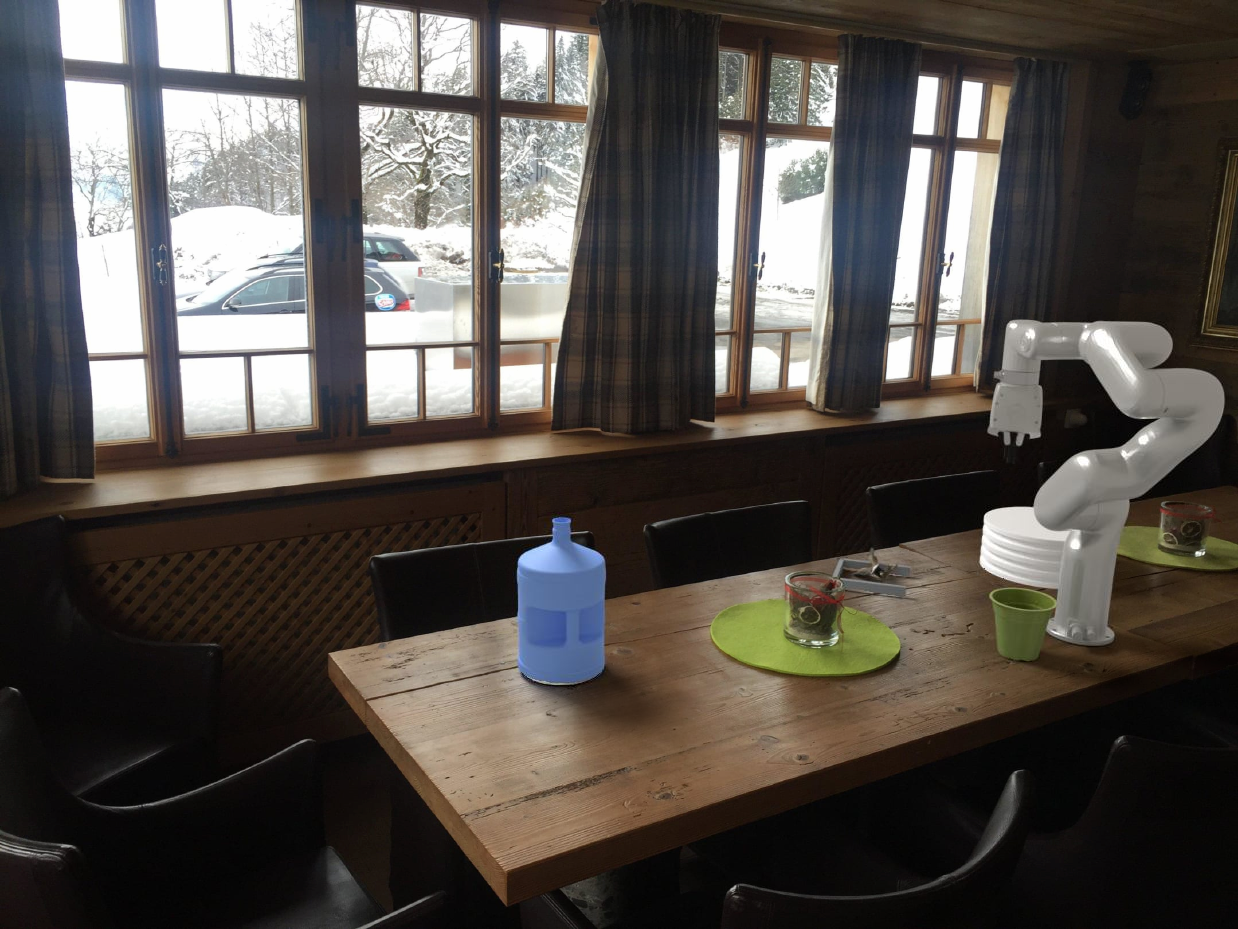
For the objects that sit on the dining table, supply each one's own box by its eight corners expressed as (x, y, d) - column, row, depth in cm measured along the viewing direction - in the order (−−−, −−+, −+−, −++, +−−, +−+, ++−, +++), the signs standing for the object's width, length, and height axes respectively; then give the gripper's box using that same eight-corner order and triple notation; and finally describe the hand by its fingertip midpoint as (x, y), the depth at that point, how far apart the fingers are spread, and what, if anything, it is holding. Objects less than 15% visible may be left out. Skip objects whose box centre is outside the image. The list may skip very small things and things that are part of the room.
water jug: (508, 657, 185) (506, 512, 179) (588, 646, 191) (589, 504, 184) (531, 694, 171) (530, 537, 164) (617, 680, 176) (619, 528, 170)
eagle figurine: (902, 575, 229) (873, 557, 236) (895, 555, 224) (867, 537, 231) (878, 596, 227) (850, 578, 234) (871, 576, 223) (843, 558, 229)
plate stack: (965, 549, 252) (969, 505, 250) (1077, 552, 251) (1083, 508, 249) (1001, 588, 225) (1006, 539, 223) (1128, 591, 224) (1135, 543, 222)
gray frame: (905, 598, 217) (906, 587, 217) (830, 589, 223) (831, 578, 222) (909, 576, 231) (910, 566, 231) (839, 568, 236) (840, 558, 236)
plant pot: (990, 637, 198) (996, 583, 195) (1055, 650, 192) (1062, 595, 189) (977, 658, 188) (983, 601, 185) (1045, 673, 182) (1052, 615, 179)
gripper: (982, 378, 213) (974, 462, 217) (1058, 383, 208) (1048, 469, 212) (982, 374, 220) (974, 455, 224) (1056, 378, 215) (1046, 461, 219)
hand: (1010, 461), depth 218 cm, fingers closed
